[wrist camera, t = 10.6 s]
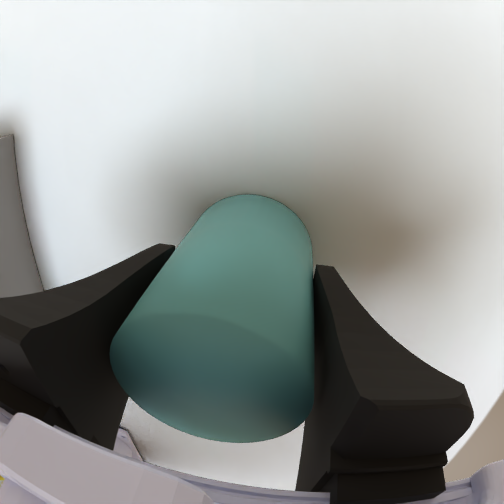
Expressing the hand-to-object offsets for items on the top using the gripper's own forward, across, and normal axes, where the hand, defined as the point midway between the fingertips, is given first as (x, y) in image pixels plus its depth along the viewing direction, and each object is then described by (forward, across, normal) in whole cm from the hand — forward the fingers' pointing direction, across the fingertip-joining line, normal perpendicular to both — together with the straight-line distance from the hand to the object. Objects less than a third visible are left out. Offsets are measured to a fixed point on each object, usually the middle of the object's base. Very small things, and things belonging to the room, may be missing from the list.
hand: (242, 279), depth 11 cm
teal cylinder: (+2, 0, 0) cm, 2 cm away
